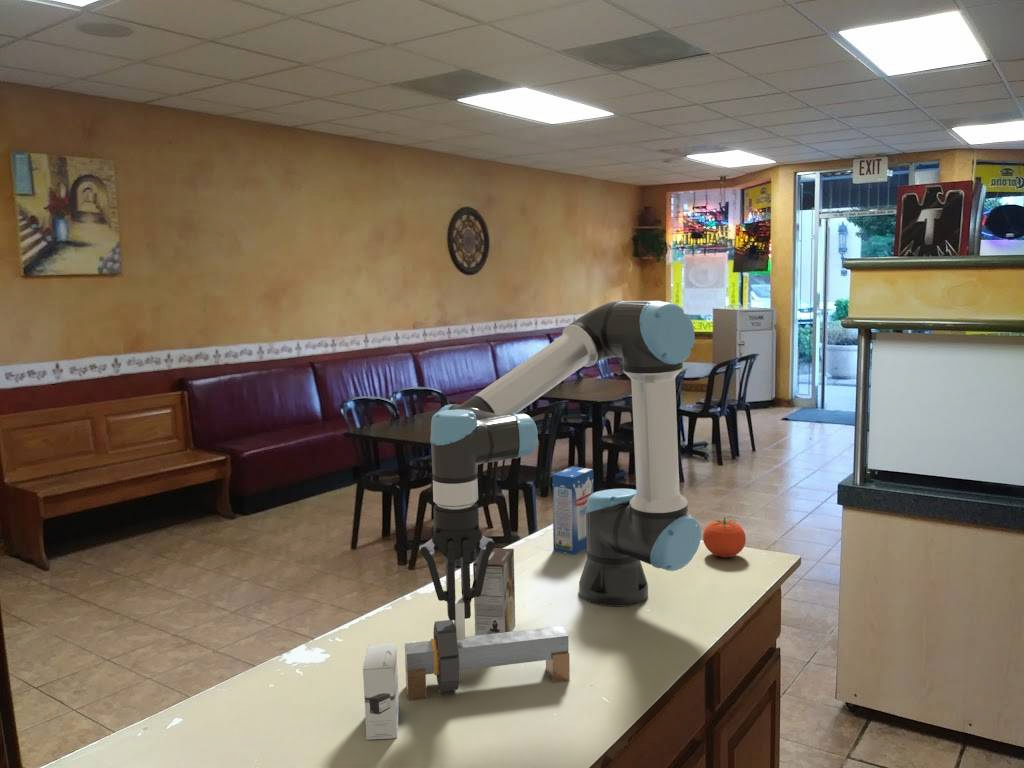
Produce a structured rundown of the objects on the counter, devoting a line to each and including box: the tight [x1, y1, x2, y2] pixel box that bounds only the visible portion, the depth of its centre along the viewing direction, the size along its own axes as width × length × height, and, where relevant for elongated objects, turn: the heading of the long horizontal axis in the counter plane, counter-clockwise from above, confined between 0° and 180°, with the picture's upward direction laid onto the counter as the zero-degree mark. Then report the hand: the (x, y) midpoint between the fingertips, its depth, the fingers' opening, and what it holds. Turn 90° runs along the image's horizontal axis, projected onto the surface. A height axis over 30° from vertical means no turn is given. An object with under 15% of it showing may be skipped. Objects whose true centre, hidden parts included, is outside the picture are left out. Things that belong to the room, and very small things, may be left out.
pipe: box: [404, 625, 571, 701], centre depth 139 cm, size 28×5×8 cm, turn 102°
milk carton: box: [552, 465, 594, 555], centre depth 206 cm, size 10×6×20 cm, turn 145°
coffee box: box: [472, 547, 516, 636], centre depth 158 cm, size 9×6×16 cm
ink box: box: [362, 642, 400, 741], centre depth 127 cm, size 8×5×12 cm, turn 5°
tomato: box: [702, 517, 747, 558], centre depth 198 cm, size 10×10×10 cm
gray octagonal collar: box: [433, 619, 461, 693], centre depth 137 cm, size 3×11×11 cm, turn 12°
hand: (459, 636), depth 138 cm, fingers closed
